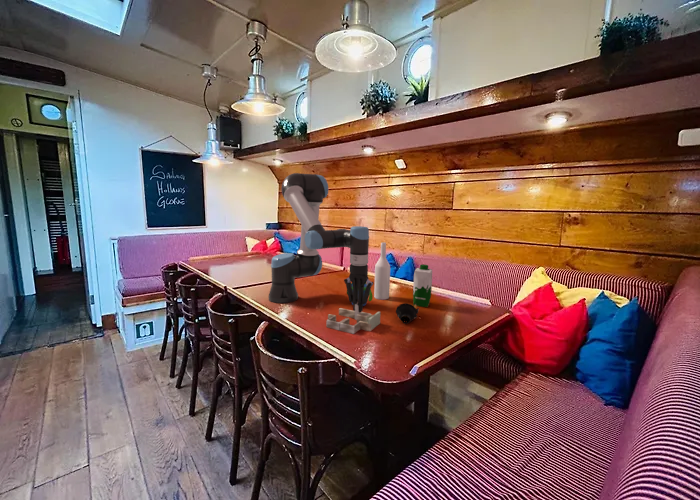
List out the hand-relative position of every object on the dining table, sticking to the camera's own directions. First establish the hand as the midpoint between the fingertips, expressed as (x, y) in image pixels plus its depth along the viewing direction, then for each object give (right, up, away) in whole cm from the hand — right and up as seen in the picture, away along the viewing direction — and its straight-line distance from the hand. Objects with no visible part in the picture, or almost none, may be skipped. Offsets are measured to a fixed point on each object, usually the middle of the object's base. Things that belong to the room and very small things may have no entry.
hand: (357, 318), depth 131 cm
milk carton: (+33, +1, +26) cm, 42 cm away
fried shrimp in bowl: (+23, -2, +7) cm, 24 cm away
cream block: (+3, -2, -1) cm, 4 cm away
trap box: (-3, -2, -1) cm, 4 cm away
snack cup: (+1, +1, +25) cm, 25 cm away
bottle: (+14, +3, +37) cm, 40 cm away
